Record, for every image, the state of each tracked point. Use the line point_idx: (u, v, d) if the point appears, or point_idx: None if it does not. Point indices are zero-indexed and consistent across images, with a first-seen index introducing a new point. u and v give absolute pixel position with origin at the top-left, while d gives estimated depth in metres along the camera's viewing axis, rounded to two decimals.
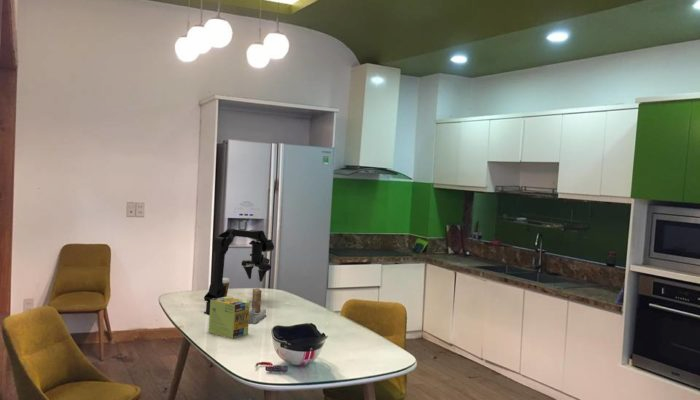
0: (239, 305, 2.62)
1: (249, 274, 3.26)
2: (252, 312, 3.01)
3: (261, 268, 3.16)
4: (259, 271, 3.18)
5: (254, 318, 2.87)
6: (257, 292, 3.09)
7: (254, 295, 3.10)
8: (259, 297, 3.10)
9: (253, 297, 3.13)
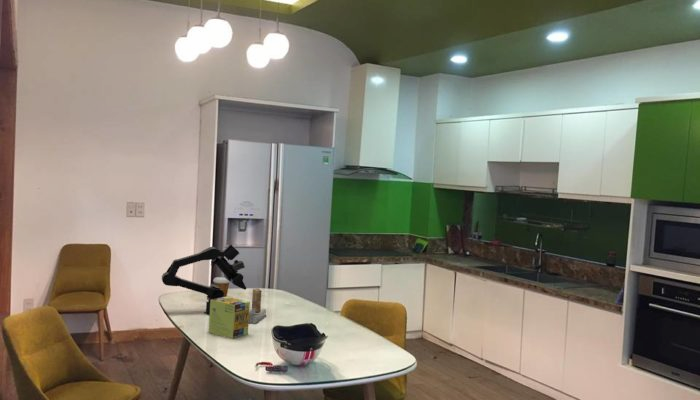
0: (239, 305, 2.62)
1: None
2: (252, 312, 3.01)
3: (233, 283, 2.98)
4: None
5: (254, 318, 2.87)
6: (257, 292, 3.09)
7: (254, 295, 3.10)
8: (259, 297, 3.10)
9: (253, 297, 3.13)
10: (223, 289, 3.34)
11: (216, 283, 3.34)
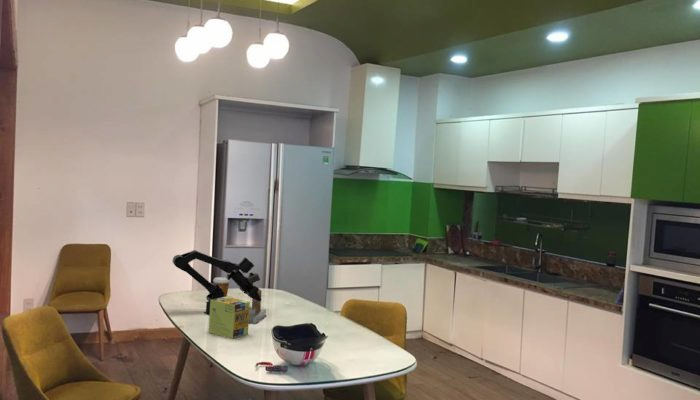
0: (239, 305, 2.62)
1: None
2: (252, 312, 3.01)
3: (249, 296, 3.02)
4: (250, 297, 3.06)
5: (254, 318, 2.87)
6: None
7: None
8: None
9: None
10: (223, 289, 3.34)
11: (216, 283, 3.34)
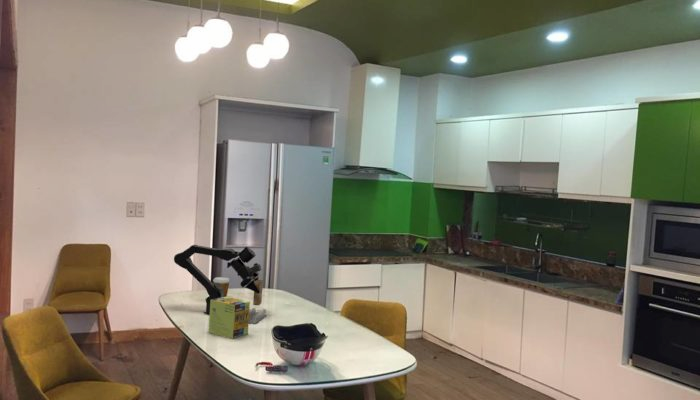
0: (239, 305, 2.62)
1: None
2: (252, 312, 3.01)
3: None
4: None
5: (254, 318, 2.87)
6: (256, 283, 2.98)
7: None
8: None
9: None
10: (223, 289, 3.34)
11: None
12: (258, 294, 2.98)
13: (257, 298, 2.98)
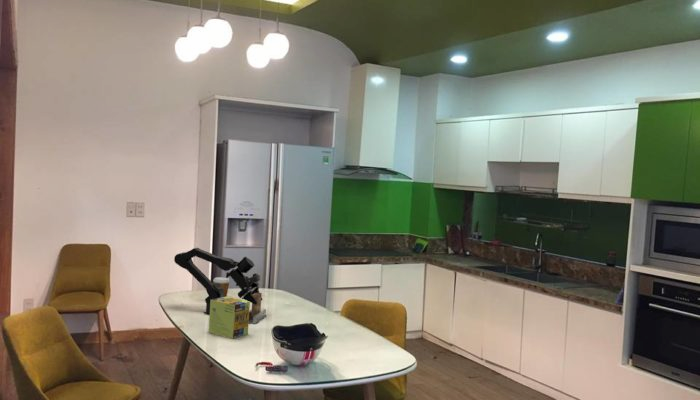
0: (239, 305, 2.62)
1: None
2: None
3: None
4: None
5: (254, 318, 2.87)
6: (253, 296, 2.96)
7: None
8: None
9: None
10: None
11: None
12: (256, 307, 2.96)
13: (255, 311, 2.96)
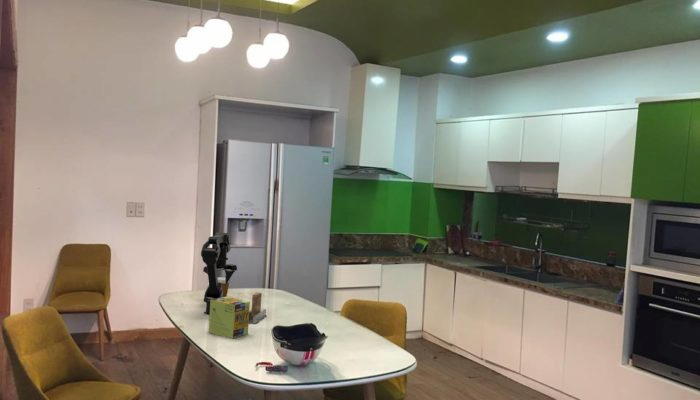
0: (239, 305, 2.62)
1: None
2: None
3: (235, 269, 3.19)
4: (232, 272, 3.18)
5: (254, 318, 2.87)
6: (253, 296, 2.96)
7: None
8: (256, 302, 2.96)
9: None
10: (223, 289, 3.34)
11: None
12: (256, 307, 2.96)
13: (255, 311, 2.96)
